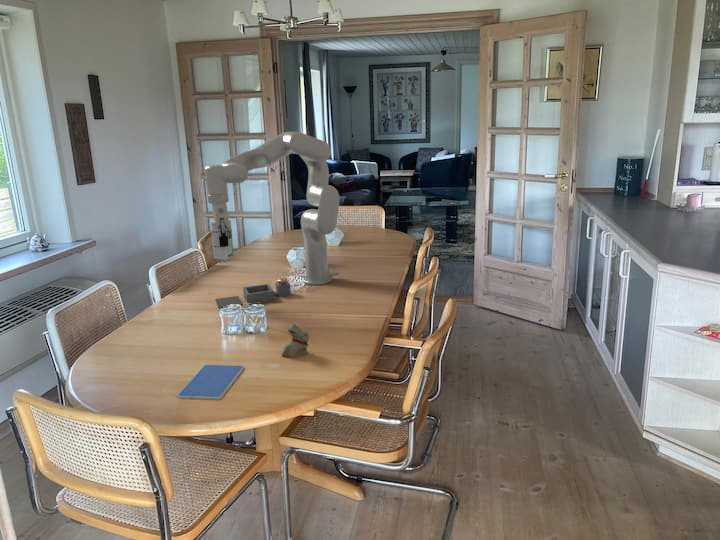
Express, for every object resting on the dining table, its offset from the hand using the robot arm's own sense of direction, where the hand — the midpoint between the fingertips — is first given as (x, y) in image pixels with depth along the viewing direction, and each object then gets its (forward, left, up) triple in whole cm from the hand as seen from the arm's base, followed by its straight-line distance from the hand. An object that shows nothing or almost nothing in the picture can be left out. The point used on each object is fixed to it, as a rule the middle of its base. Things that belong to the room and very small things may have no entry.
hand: (223, 243), depth 219 cm
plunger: (-22, 0, -23) cm, 32 cm away
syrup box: (0, 0, -6) cm, 6 cm away
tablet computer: (+13, +69, -25) cm, 74 cm away
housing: (-15, 0, -24) cm, 28 cm away
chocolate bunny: (-13, +60, -24) cm, 66 cm away
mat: (0, 0, -24) cm, 24 cm away
